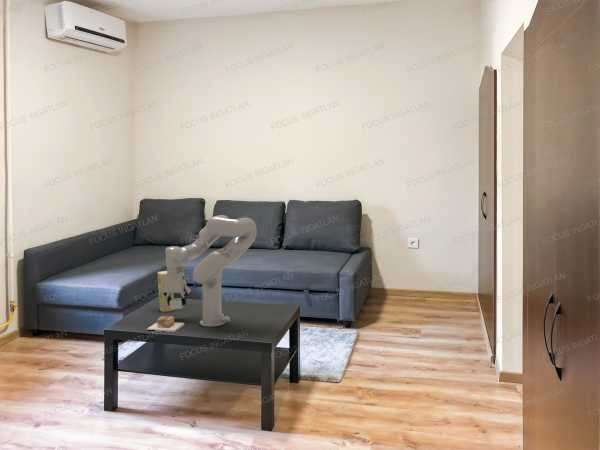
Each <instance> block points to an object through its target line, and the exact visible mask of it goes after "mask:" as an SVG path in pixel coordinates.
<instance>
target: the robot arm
mask: <svg viewBox="0 0 600 450" xmlns="http://www.w3.org/2000/svg"><path fill="white" fill-rule="evenodd" d="M257 228H258V227H257V224H256V221H254V219H252V218H250V217H242V218H241V217H240V218H235V219H233V218H231V219H230V217H228V216H227V215H224V214H220V215H215V216H211V217H210V218H208V220H207V222H206V225H205V226H204V227H203V228H202V229H201V230H199V232H198V236H199V237H198V238H197V239H195V241H193V242H192V243H191V244H188V245H185V246H181V247H180V246H177V245H176V246H175V245H173V246H167V247H166V248H165V251H164V253H165V263H166V271H167V274H166V277H165V287H163V288H162V289H161V292H162V293H163V294H164V295H165V296H166V298H167V303H168V306H170V300H171V299H172V298H171V297H170V296H171V293H174V294H180V295H181V297H180V298H181V299H182V306H183V307H185V305H186V304H187V296H188V295H189V294H190V292H191V291H192V289H191V288H190V287H189V286H187V280H186V275H185V273H184V271H185V268H184V267H183V266H182V263H186V262H189V261H192V260H194V259H197V258H199V256H201V255H203V254H204V253H205V252H206V251H207V250H209V248H210V247H211V246H212V244H213V243H214V242H216V241H218V239H220V237H226V238H227V237H229V238H232V239H231V240H230V241H229V242H228V243H227V244H226V245H225V246H224V247H222V248H219V249H216V250H213V251H212V252H210V253H209V254H208V255H206V256H205V258H203V259H202V260H201V261H200V262H199V263H198V264H197V265H195V267H194V269H193V272H192V277H193V280H194V281H195V282H196V283H198V284H200V285H201V284H202V287H201V300H202V301H201V302H202V303H201V305H202V306H201V308H202V319H201V320H200V321H199V325H200V326H202V327H210V328H211V327H212V328H213V327H219V326H222V325H225V323H226V322H230V320H231V318H230V317H229V316H226V315H224V313H223V312H222V310H223V309H222V306H223V305H222V304H223V303H222V280H223V270H224V269H227V268H228V267H230V266H232V265H233V263H235V261H237V260H238V259H239V258H240V257H241V256H242V255H243V254H244V253H245V252H246V251H247V250H248V249H249V248H250V247H251V246H252V245H253V243H254V242H255V240H256V238H257V234H258V233H257V232H258V229H257ZM165 291H166V292H165Z"/></svg>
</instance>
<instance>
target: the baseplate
mask: <svg viewBox="0 0 600 450" xmlns="http://www.w3.org/2000/svg"><path fill="white" fill-rule="evenodd" d="M184 326H185V323H184V322H174V325H173V326H171V327H170V328H161V327H157V322H155V323H154V324H151V326H149V327H147V329H146V331H147V330H155V331H154V332H161V331H165V333H175V332H177V331H178V330H179V329H181V328H182V327H184Z"/></svg>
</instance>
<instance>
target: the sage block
mask: <svg viewBox="0 0 600 450" xmlns="http://www.w3.org/2000/svg"><path fill="white" fill-rule="evenodd" d="M181 298H182V297H180V298H174V299H171V300H170V309H174V310H179V309H180V310H182V309H183V308H184V306H182V299H181Z"/></svg>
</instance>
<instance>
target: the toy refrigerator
mask: <svg viewBox="0 0 600 450" xmlns="http://www.w3.org/2000/svg"><path fill="white" fill-rule="evenodd" d="M166 274H167V270H164V271H163V270H162V271H157V288H158V291H157V292H158V307H159V308H158V309H159V310H160V311H161V312H162V313H167V312H173V311H175V309H170V306H168V303H167V298H166V296H165V295H164V294H163V293H162V292H161V289H162V288H163V287H165V277H166ZM165 292H166V291H165ZM174 294H175V293H171V296H170V297H171V298H172V299H175V297H174V296H175V295H174Z"/></svg>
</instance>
